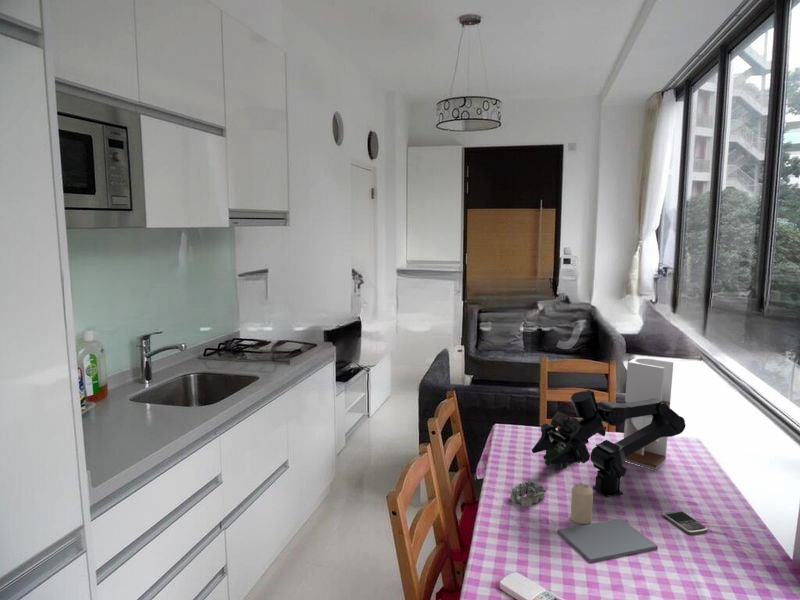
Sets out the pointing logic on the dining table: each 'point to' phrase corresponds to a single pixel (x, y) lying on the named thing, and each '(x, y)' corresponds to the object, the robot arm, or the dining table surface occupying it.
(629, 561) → the dining table surface
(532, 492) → the grey jagged ring-shaped piece
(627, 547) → the rubber mat
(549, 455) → the toy figurine
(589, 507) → the candle
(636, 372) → the display case
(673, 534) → the dining table surface
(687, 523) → the cell phone
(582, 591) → the dining table surface
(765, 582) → the dining table surface
